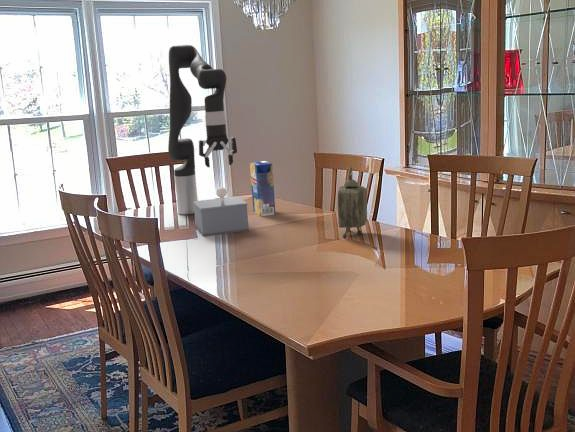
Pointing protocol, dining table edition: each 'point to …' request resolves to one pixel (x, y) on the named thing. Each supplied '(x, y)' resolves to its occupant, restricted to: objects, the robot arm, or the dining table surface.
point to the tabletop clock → (352, 205)
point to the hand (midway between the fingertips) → (219, 166)
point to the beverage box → (262, 188)
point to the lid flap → (219, 201)
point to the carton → (221, 220)
